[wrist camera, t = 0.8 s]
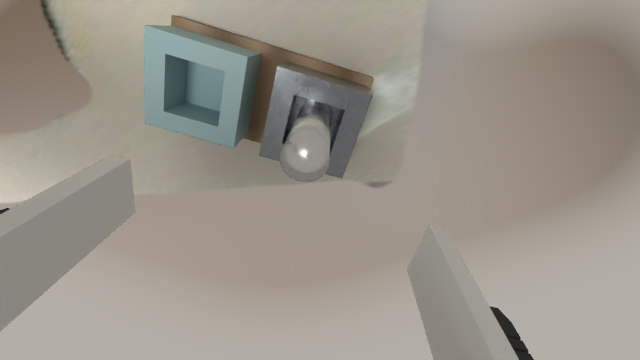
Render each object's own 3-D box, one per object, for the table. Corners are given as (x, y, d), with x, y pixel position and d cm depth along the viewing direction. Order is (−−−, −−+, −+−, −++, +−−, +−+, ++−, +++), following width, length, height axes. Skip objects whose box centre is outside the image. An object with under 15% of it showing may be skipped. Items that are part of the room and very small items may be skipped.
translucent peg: (295, 125, 36) (275, 174, 24) (303, 94, 34) (286, 130, 22) (326, 134, 37) (321, 187, 24) (335, 104, 35) (335, 144, 22)
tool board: (173, 113, 39) (168, 116, 37) (178, 15, 33) (171, 15, 32) (341, 161, 41) (342, 165, 40) (372, 76, 35) (373, 78, 34)
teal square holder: (172, 110, 37) (144, 123, 32) (175, 26, 33) (144, 25, 27) (247, 132, 38) (233, 148, 33) (261, 53, 33) (247, 56, 28)
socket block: (269, 138, 38) (259, 155, 33) (286, 60, 34) (277, 66, 28) (341, 158, 39) (341, 178, 34) (366, 85, 35) (372, 95, 29)
